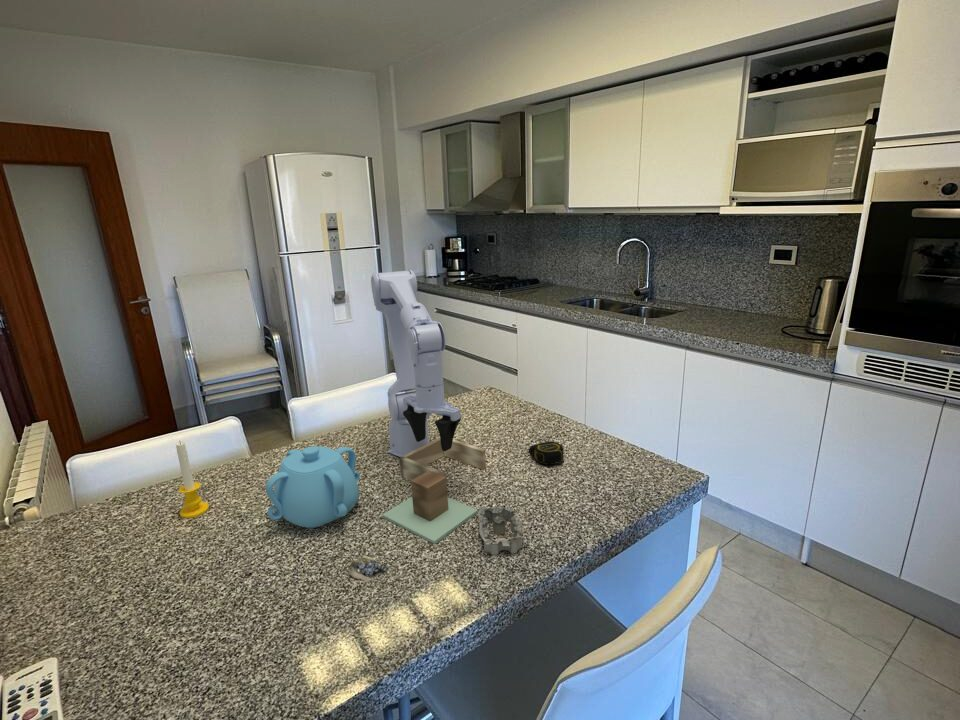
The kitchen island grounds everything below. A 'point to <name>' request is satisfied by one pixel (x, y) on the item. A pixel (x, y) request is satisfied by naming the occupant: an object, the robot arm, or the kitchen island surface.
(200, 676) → the kitchen island surface
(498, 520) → the egg carton
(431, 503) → the walnut block
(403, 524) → the sage mat
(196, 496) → the candle
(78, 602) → the kitchen island surface
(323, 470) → the decorative pot
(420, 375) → the robot arm
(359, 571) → the blueberries
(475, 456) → the open-side box
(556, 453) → the tape measure
